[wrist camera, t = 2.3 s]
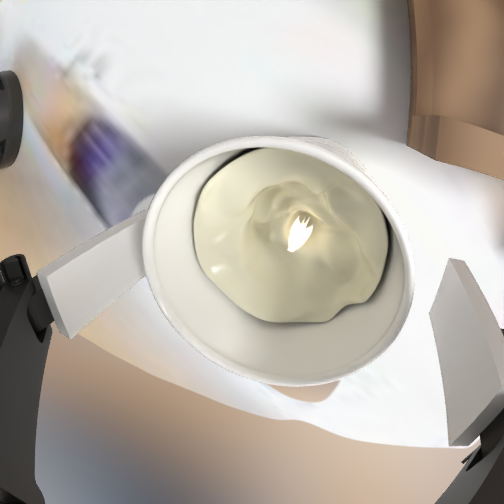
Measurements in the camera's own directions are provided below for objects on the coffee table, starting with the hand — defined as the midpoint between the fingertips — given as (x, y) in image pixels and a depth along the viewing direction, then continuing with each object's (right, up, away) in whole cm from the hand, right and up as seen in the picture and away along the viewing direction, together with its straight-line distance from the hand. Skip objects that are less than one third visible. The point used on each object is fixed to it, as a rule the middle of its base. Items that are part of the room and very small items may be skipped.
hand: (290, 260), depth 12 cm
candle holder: (+3, +4, +8) cm, 9 cm away
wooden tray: (+15, +14, -2) cm, 20 cm away
